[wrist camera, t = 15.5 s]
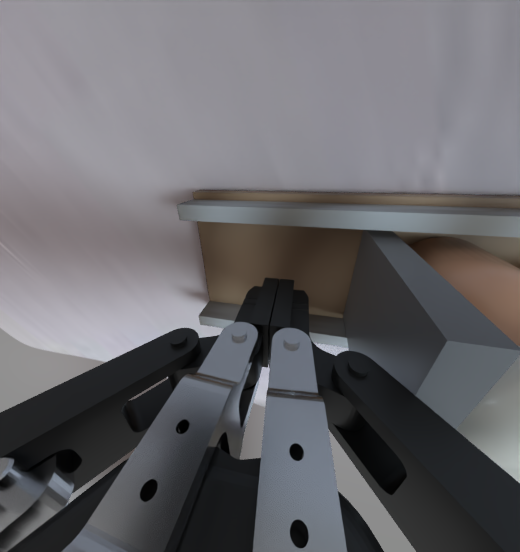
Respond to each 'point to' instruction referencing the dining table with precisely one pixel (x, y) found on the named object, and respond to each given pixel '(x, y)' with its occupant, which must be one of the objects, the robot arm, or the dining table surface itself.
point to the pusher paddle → (422, 328)
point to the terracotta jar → (507, 317)
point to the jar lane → (327, 241)
